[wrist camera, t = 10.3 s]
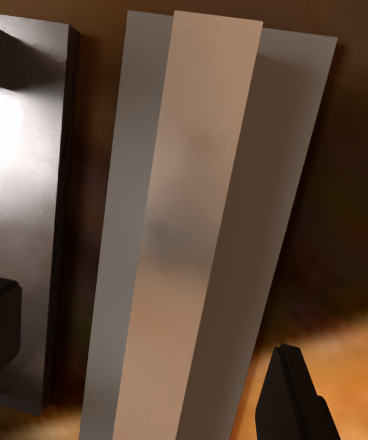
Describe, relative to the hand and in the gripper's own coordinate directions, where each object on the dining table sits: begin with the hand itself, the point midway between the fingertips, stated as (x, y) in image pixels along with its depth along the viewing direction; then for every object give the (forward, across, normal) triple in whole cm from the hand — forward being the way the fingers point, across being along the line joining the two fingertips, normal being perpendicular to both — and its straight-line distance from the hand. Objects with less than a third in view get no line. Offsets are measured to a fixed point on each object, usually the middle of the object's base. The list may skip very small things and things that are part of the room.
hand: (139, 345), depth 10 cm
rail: (+5, -1, +1) cm, 5 cm away
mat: (+6, -1, +1) cm, 6 cm away
